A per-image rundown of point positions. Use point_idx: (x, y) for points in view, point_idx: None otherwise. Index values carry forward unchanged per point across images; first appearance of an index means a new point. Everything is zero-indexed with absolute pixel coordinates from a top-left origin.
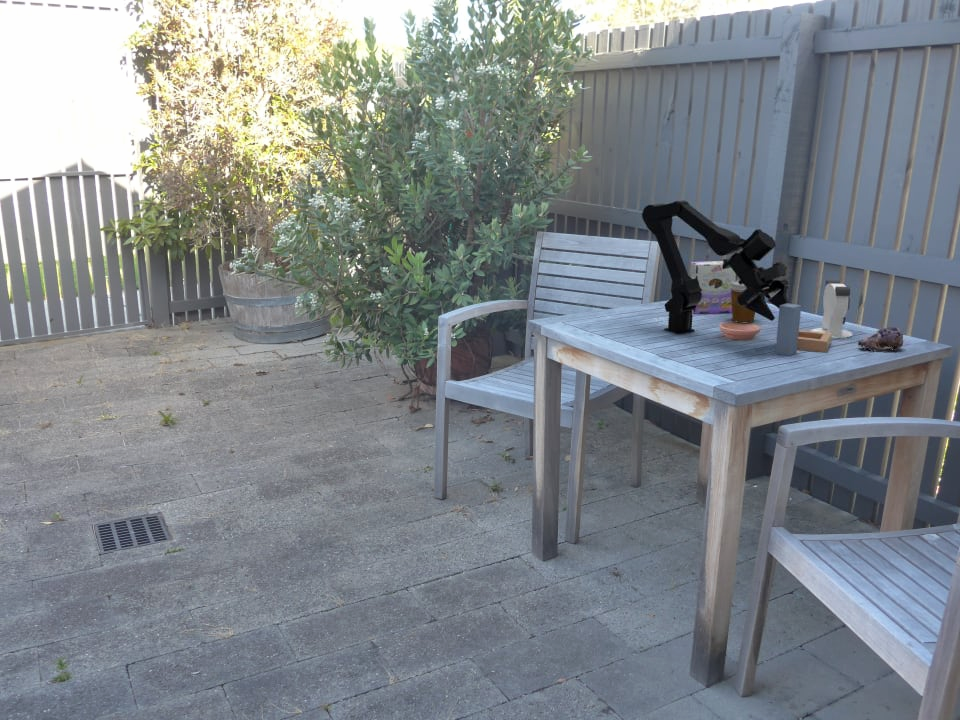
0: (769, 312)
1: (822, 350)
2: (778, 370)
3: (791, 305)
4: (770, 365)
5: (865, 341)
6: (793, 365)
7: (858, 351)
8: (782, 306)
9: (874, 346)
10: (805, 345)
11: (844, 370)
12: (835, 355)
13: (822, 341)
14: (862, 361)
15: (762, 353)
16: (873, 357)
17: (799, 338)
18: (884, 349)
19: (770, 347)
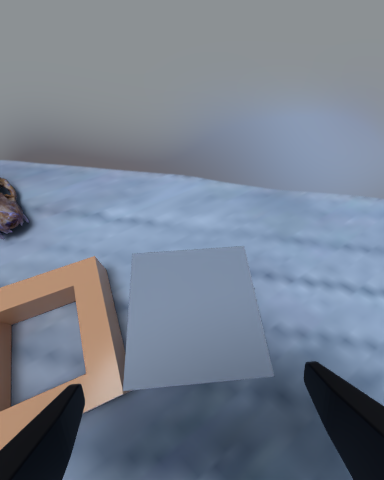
0: (370, 401)
1: (106, 275)
2: (351, 256)
3: (189, 299)
4: (340, 293)
5: (9, 209)
6: (284, 257)
7: (42, 227)
8: (263, 345)
9: (13, 201)
10: (114, 319)
11: (220, 182)
12: (118, 242)
13: (97, 267)
14: (129, 189)
15: (264, 399)
16: (81, 190)
17: (108, 339)
18: (14, 190)
19: (166, 439)
